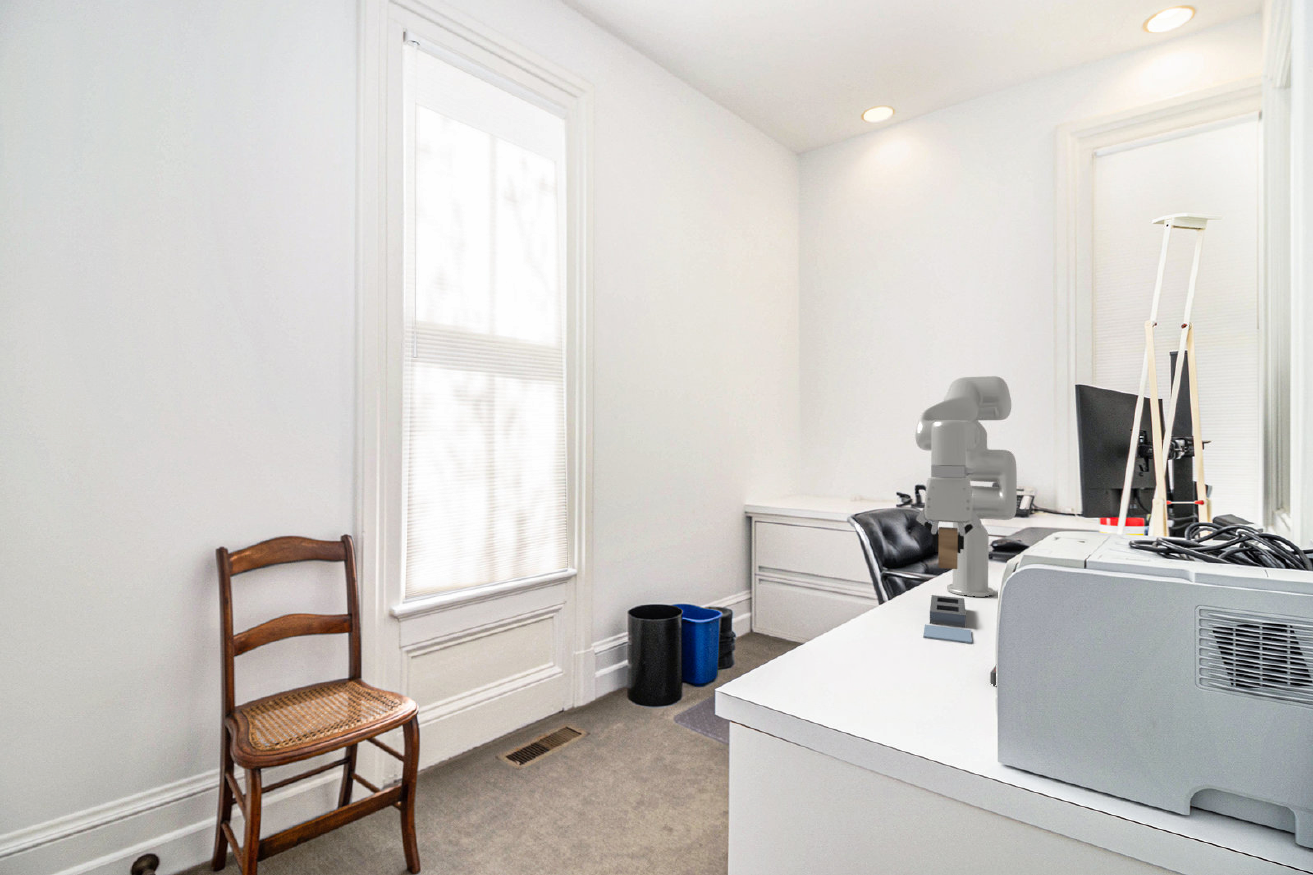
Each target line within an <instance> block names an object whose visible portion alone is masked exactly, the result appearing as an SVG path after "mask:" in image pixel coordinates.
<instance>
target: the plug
mask: <svg viewBox="0 0 1313 875" xmlns="http://www.w3.org/2000/svg"><path fill="white" fill-rule="evenodd" d="M938 534H939V551H938V558H937V559H938V563H937V564H938V568H939V569H951V570H953V569H957V560H958V529H957V528H953V527H951V526H950V527H947V526H946V527H945V526H938Z"/></svg>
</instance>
